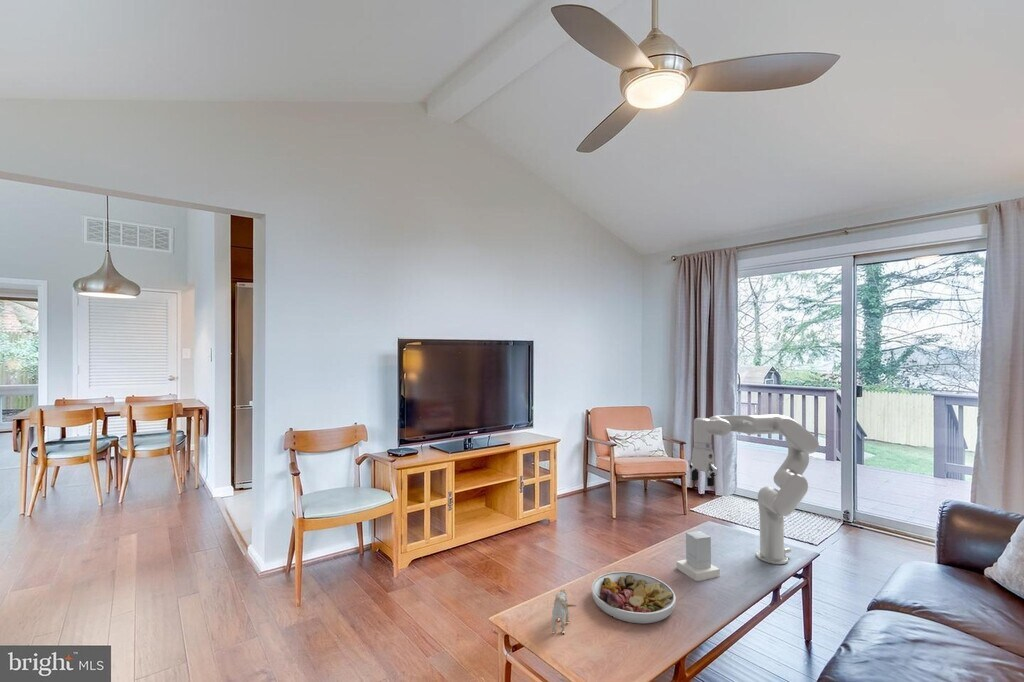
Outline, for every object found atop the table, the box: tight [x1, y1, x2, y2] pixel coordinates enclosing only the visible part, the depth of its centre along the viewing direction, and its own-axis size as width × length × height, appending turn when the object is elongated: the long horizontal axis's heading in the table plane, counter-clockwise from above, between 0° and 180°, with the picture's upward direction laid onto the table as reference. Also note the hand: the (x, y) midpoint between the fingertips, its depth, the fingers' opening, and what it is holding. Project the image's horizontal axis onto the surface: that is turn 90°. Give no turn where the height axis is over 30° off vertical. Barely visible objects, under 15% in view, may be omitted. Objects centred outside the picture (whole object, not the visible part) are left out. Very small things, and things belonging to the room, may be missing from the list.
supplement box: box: [685, 530, 712, 569], centre depth 196 cm, size 7×7×13 cm
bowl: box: [591, 570, 676, 624], centre depth 172 cm, size 30×30×8 cm
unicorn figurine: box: [551, 588, 578, 633], centre depth 155 cm, size 7×20×13 cm, turn 2°
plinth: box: [675, 558, 721, 582], centre depth 196 cm, size 12×12×3 cm
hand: (702, 483), depth 211 cm, fingers open, 9 cm apart
